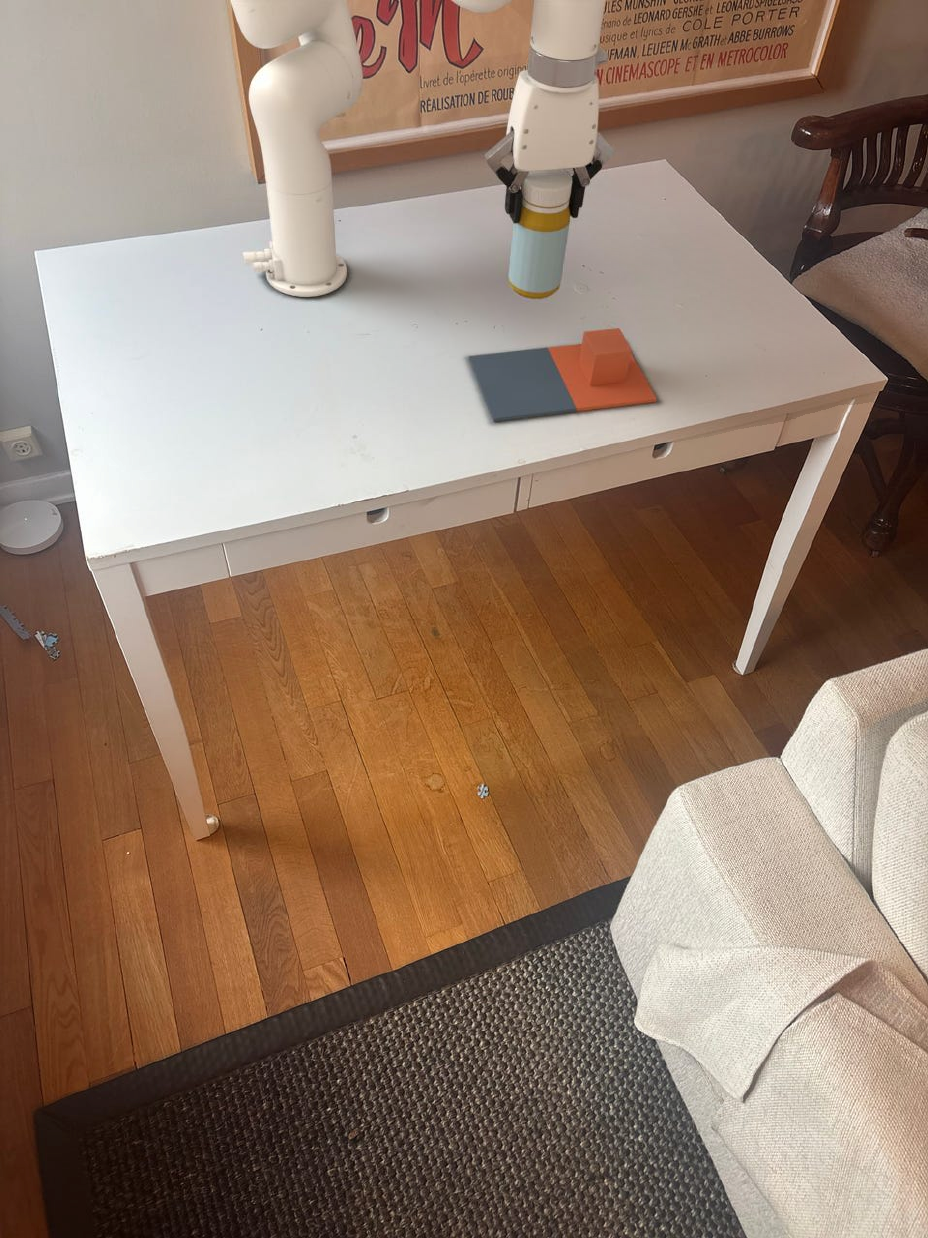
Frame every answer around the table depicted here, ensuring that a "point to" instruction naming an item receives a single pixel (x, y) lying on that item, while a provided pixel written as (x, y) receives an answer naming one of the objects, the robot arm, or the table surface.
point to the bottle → (541, 234)
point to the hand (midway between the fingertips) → (542, 213)
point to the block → (604, 356)
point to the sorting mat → (550, 384)
